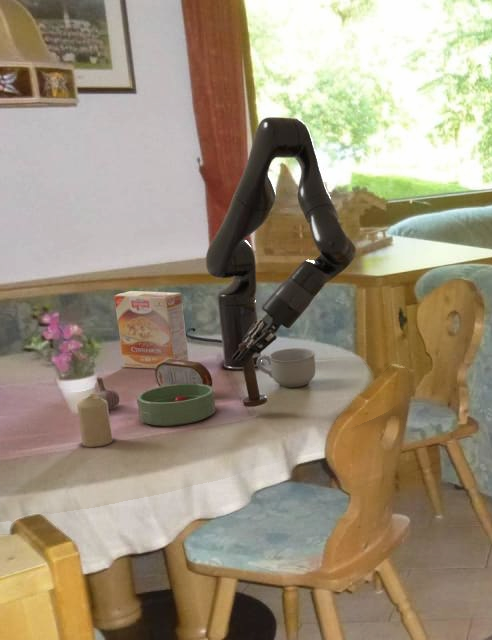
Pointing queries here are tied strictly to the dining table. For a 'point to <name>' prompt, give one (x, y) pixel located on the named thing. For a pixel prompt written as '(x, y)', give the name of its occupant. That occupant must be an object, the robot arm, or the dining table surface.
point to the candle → (94, 421)
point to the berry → (179, 399)
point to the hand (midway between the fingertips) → (237, 362)
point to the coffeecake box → (151, 328)
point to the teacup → (290, 366)
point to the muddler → (251, 383)
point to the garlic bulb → (107, 394)
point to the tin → (182, 373)
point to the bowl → (176, 404)
